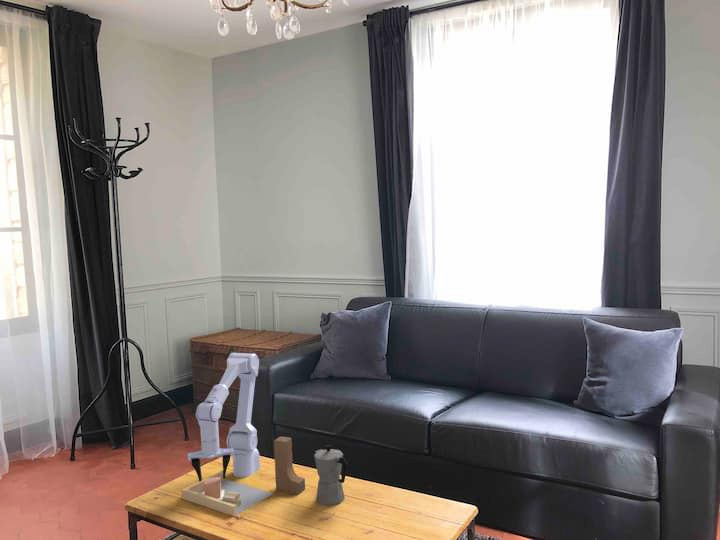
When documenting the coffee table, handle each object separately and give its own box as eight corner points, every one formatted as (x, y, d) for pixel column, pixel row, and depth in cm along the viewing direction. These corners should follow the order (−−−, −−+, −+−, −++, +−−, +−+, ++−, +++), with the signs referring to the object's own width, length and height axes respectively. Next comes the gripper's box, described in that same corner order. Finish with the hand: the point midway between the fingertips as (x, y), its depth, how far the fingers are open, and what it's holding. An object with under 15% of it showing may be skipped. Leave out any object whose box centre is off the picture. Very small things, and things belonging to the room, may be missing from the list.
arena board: (223, 480, 210) (222, 470, 209) (274, 495, 196) (273, 484, 196) (182, 500, 195) (181, 489, 195) (234, 518, 181) (233, 506, 181)
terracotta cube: (205, 493, 198) (205, 478, 197) (221, 491, 199) (220, 476, 198) (204, 499, 193) (203, 484, 193) (220, 497, 194) (219, 483, 194)
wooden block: (305, 491, 199) (303, 438, 198) (299, 496, 195) (296, 443, 194) (282, 487, 203) (280, 435, 201) (275, 492, 199) (273, 440, 197)
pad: (202, 492, 199) (202, 492, 199) (224, 490, 200) (224, 489, 200) (201, 501, 192) (201, 501, 192) (223, 499, 193) (223, 498, 193)
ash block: (229, 503, 190) (229, 491, 190) (240, 504, 189) (240, 492, 188) (223, 509, 186) (222, 496, 186) (234, 510, 185) (233, 498, 185)
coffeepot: (306, 497, 194) (304, 444, 193) (328, 488, 200) (326, 436, 199) (337, 513, 183) (334, 456, 181) (359, 503, 189) (357, 448, 188)
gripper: (186, 445, 189) (188, 486, 190) (232, 440, 192) (234, 481, 193) (188, 437, 196) (190, 477, 197) (232, 433, 199) (234, 472, 200)
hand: (212, 478), depth 196 cm, fingers open, 7 cm apart
